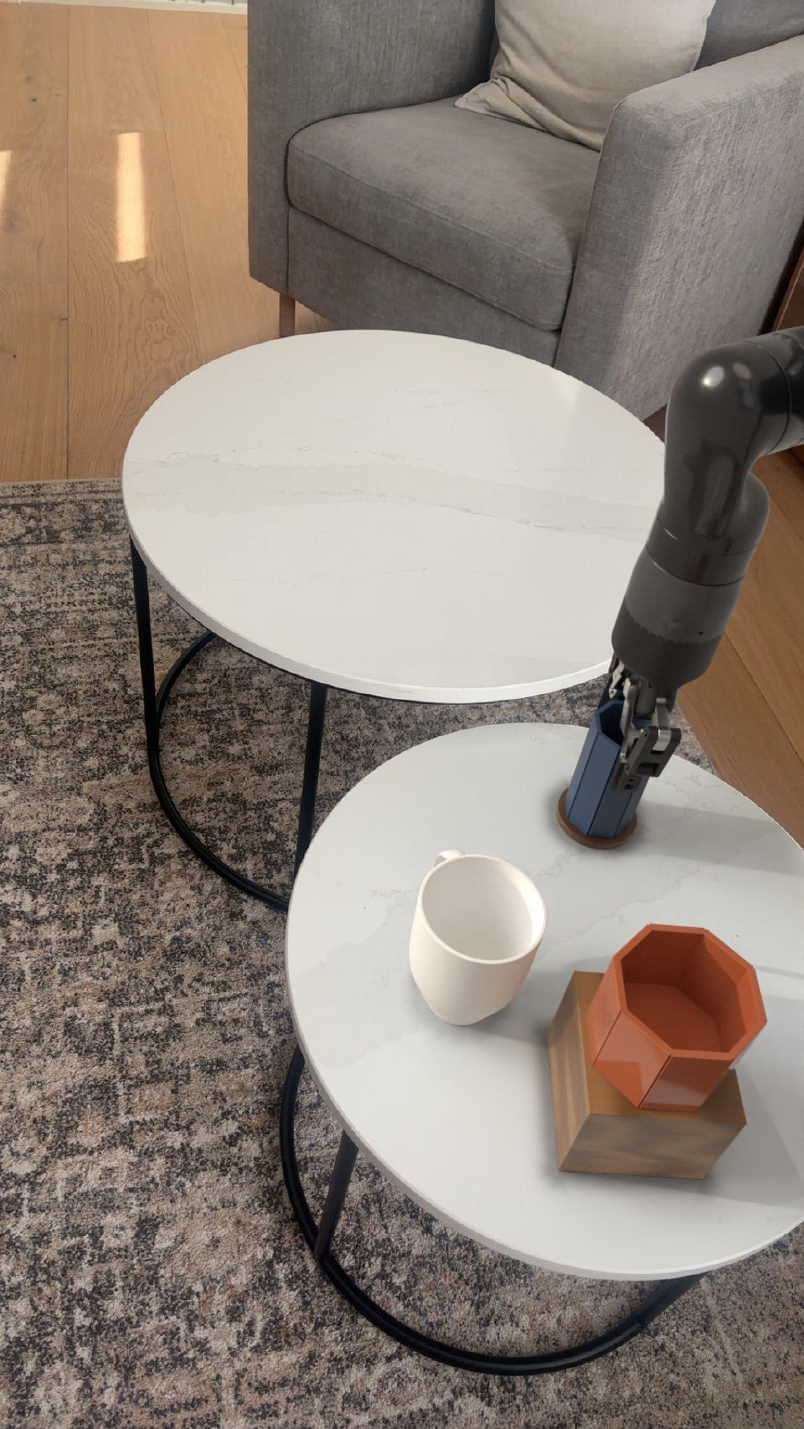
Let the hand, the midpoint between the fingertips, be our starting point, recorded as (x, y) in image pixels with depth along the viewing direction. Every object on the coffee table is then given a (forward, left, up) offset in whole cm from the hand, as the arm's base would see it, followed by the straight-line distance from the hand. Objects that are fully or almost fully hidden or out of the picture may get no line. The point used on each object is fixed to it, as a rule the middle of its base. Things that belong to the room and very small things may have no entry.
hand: (617, 759), depth 90 cm
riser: (+1, +26, -8) cm, 27 cm away
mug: (+13, +17, -8) cm, 23 cm away
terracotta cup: (+1, +26, +1) cm, 26 cm away
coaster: (0, 0, -8) cm, 8 cm away
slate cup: (0, 0, -7) cm, 7 cm away
